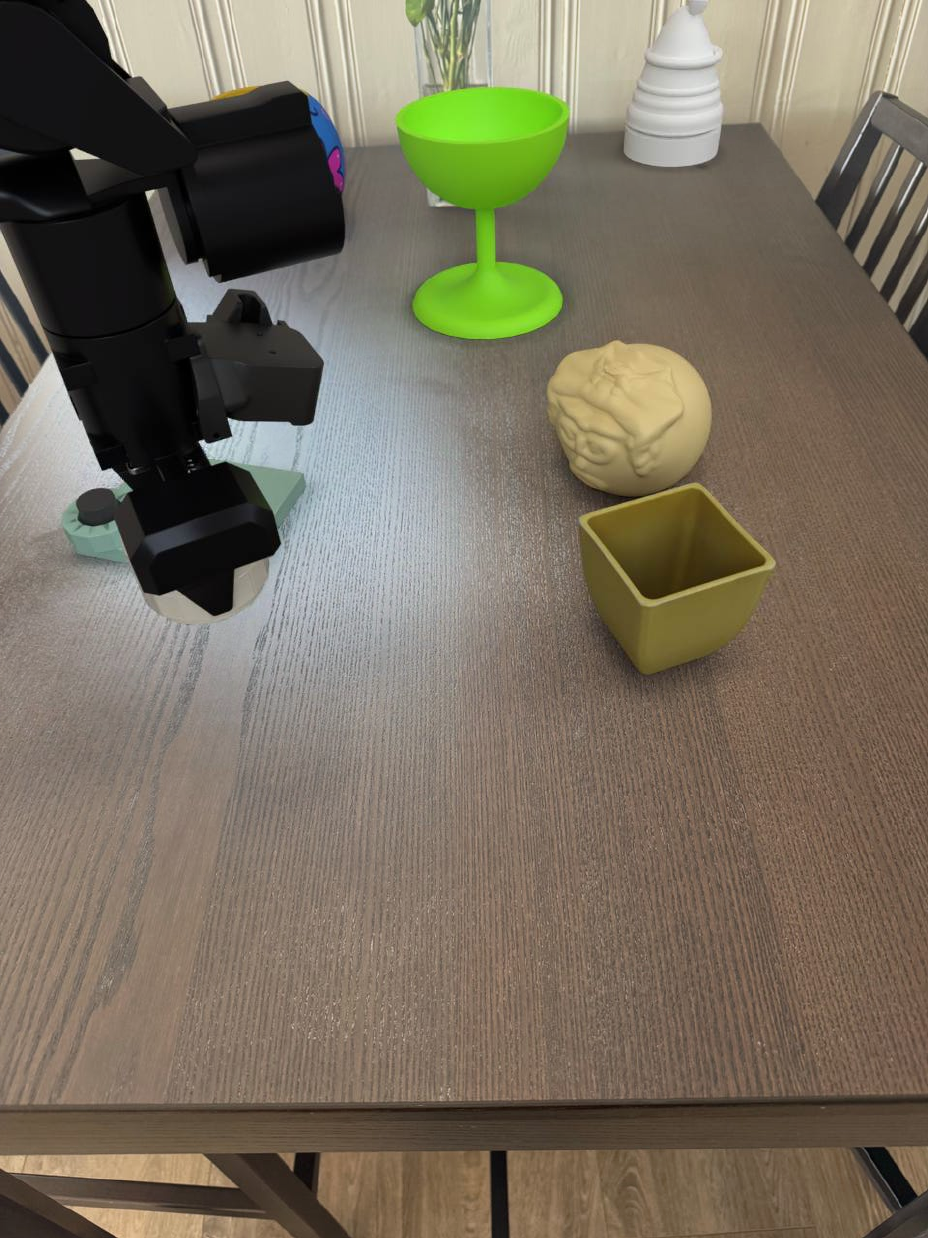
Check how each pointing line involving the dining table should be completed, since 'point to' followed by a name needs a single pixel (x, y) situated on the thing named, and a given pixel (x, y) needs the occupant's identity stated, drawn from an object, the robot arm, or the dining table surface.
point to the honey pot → (677, 95)
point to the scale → (272, 482)
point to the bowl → (187, 612)
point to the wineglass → (484, 200)
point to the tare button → (97, 506)
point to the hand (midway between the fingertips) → (203, 571)
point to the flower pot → (672, 575)
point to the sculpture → (629, 416)
